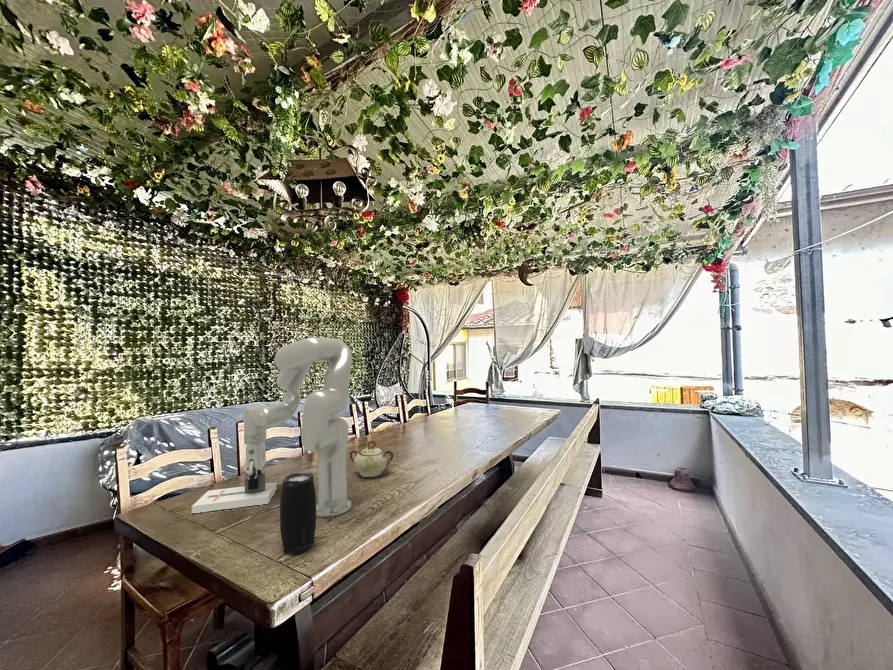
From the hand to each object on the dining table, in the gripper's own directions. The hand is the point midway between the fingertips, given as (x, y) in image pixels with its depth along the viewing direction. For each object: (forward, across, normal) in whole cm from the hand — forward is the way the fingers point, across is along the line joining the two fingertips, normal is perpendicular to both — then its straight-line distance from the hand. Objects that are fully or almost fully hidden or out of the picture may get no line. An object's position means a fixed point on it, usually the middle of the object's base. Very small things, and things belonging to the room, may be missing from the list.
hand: (255, 486), depth 128 cm
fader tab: (+1, 0, 0) cm, 1 cm away
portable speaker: (+5, -41, -21) cm, 46 cm away
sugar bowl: (+5, +11, -44) cm, 46 cm away
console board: (+5, 0, +6) cm, 8 cm away
